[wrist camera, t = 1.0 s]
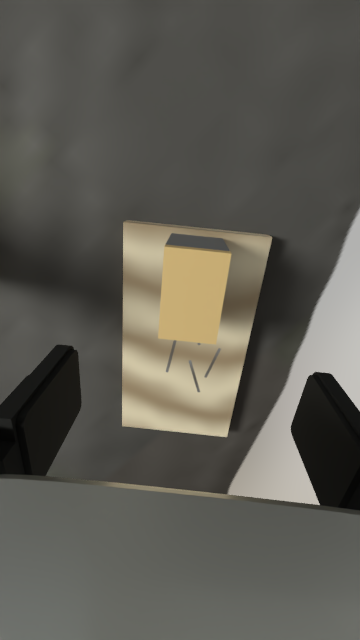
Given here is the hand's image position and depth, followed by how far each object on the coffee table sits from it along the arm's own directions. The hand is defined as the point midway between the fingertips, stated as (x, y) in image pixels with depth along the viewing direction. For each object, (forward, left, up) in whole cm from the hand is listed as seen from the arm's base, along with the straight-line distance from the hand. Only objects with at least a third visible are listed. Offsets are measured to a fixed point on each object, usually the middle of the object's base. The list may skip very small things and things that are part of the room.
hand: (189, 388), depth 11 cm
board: (+8, 0, -18) cm, 19 cm away
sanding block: (0, 0, -16) cm, 16 cm away
